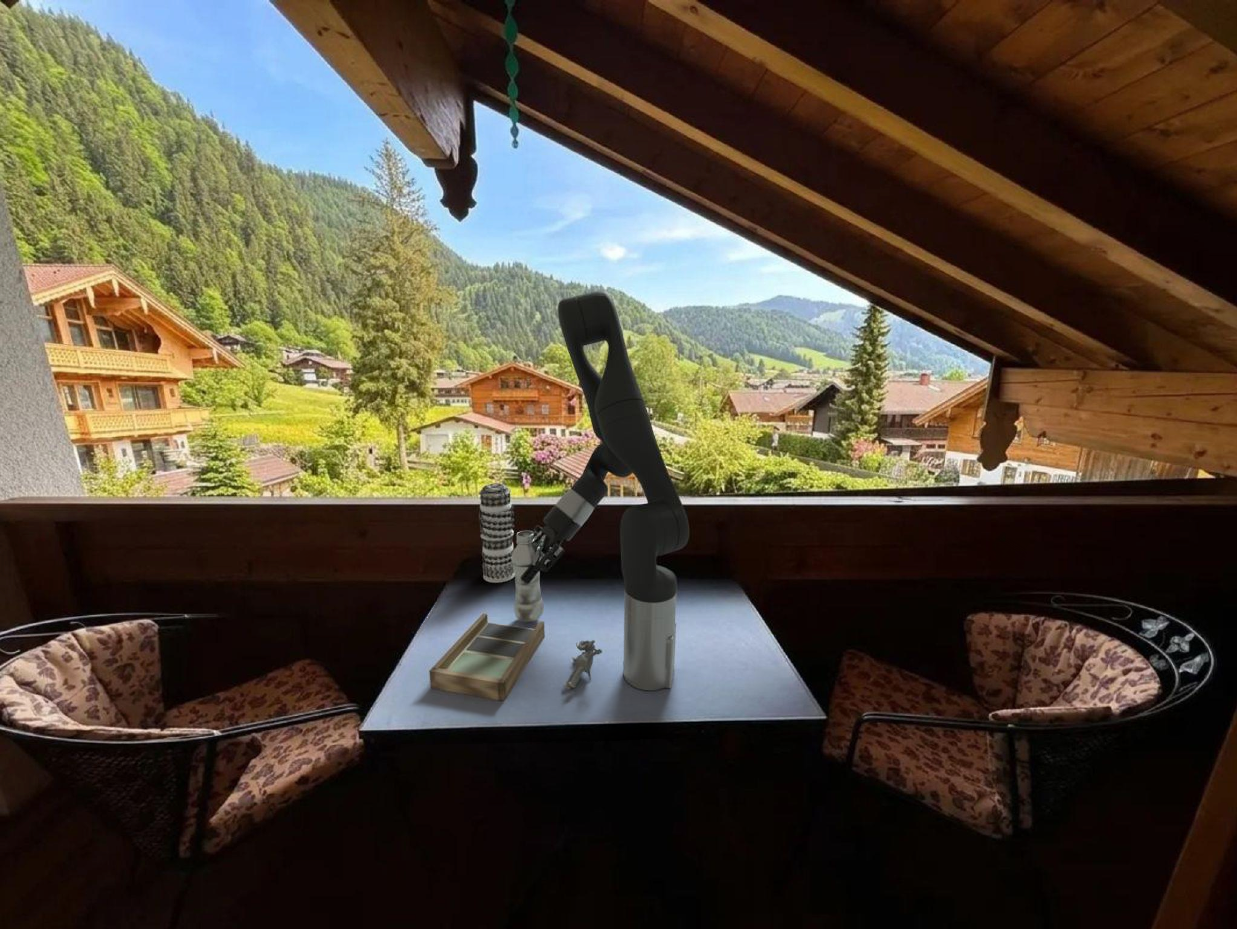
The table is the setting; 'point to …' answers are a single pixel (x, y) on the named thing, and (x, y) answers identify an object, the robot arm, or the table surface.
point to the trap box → (486, 659)
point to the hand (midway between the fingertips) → (519, 574)
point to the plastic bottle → (526, 595)
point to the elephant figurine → (582, 662)
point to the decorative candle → (496, 532)
